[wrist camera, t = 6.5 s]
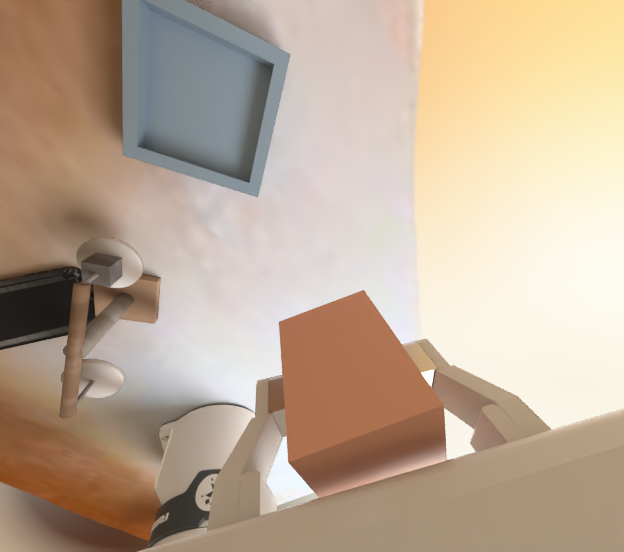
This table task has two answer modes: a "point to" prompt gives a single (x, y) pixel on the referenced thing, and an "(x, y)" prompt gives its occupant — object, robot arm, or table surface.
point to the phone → (38, 306)
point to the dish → (198, 93)
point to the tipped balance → (103, 316)
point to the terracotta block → (355, 399)
